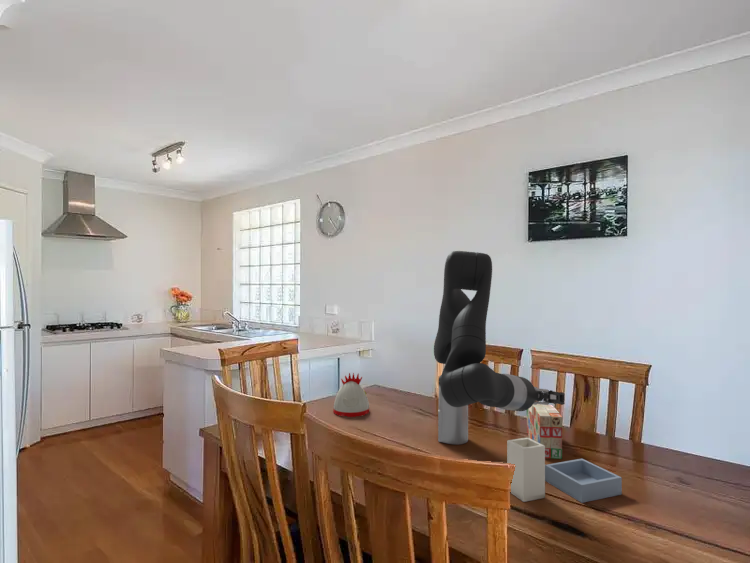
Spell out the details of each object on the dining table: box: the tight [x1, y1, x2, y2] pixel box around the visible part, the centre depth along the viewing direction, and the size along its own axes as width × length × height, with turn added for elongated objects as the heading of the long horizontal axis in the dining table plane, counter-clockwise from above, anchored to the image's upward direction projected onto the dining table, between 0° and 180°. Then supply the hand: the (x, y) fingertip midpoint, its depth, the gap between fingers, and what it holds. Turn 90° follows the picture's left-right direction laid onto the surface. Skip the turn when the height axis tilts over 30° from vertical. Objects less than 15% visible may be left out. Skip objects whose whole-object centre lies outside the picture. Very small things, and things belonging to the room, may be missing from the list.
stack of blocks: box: [526, 404, 564, 460], centre depth 137 cm, size 21×6×12 cm, turn 171°
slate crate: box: [545, 458, 623, 503], centre depth 109 cm, size 12×12×4 cm
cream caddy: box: [506, 436, 546, 503], centre depth 105 cm, size 6×6×12 cm
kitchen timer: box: [332, 372, 370, 418], centre depth 173 cm, size 14×14×15 cm
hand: (543, 397), depth 108 cm, fingers open, 8 cm apart
